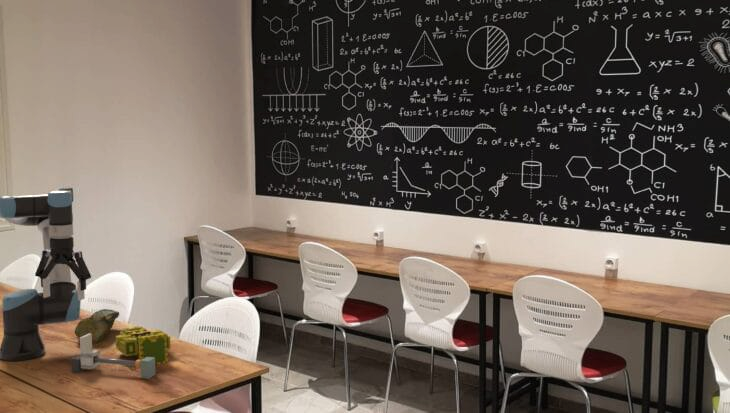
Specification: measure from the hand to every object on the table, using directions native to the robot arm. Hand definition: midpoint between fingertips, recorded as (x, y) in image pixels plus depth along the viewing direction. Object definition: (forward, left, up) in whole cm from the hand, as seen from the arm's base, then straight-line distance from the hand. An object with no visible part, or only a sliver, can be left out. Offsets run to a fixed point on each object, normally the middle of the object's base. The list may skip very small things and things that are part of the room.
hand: (64, 298), depth 254 cm
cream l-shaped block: (+10, 0, -23) cm, 25 cm away
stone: (-13, +36, -25) cm, 46 cm away
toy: (+17, +21, -25) cm, 37 cm away
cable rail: (+19, 0, -25) cm, 31 cm away
